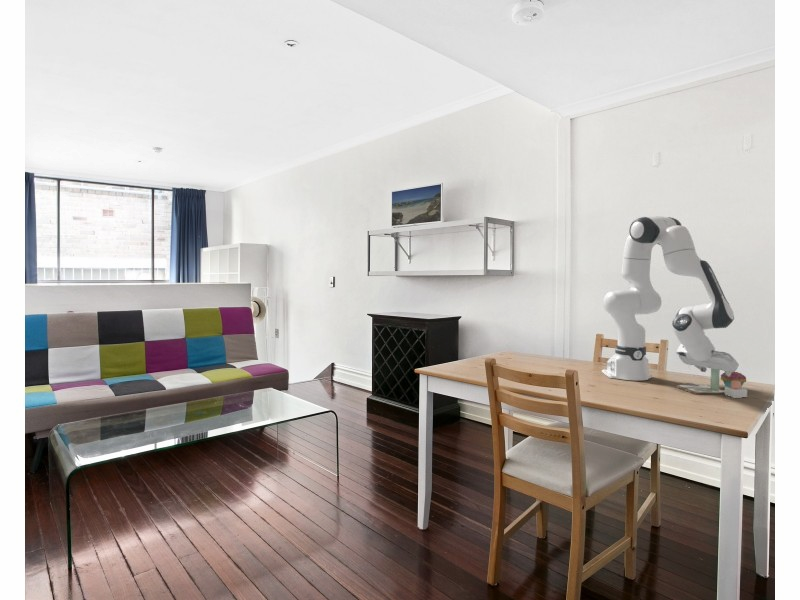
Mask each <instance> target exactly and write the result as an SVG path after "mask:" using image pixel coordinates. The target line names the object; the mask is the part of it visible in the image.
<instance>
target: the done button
mask: <svg viewBox="0 0 800 600" xmlns="http://www.w3.org/2000/svg"><path fill="white" fill-rule="evenodd" d="M731 388H732V389H741V388H742V387H741V382H740V381H731Z"/></svg>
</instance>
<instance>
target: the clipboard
mask: <svg viewBox="0 0 800 600" xmlns="http://www.w3.org/2000/svg"><path fill="white" fill-rule="evenodd" d="M710 387H711V384H697V383H694V382H685V384H678V385H677V384H676V385H674V388H677V389H679V388H680V389H679V390H682V391H684V392H687V391H688V392H687V393H691V394H693V395H697V394H702V395H724V393H725V389H722V388H719V391H713V390H710Z"/></svg>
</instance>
